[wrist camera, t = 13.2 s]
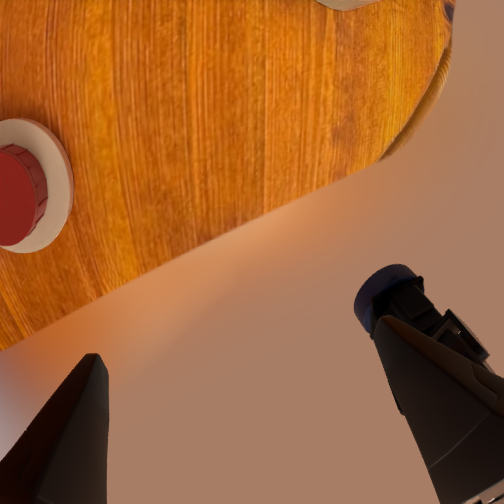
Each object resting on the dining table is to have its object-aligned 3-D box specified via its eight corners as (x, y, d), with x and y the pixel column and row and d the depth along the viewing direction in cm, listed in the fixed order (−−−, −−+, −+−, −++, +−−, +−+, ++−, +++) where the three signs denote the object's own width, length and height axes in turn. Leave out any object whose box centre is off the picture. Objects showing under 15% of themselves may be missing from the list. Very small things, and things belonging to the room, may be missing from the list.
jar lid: (-12, 132, 11) (-29, 138, 10) (59, 160, 14) (46, 169, 12) (-25, 215, 14) (-39, 227, 12) (39, 245, 16) (28, 260, 14)
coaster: (96, 219, 17) (93, 225, 16) (6, 263, 17) (2, 269, 16) (44, 90, 12) (38, 91, 12) (-44, 159, 12) (-50, 162, 11)
